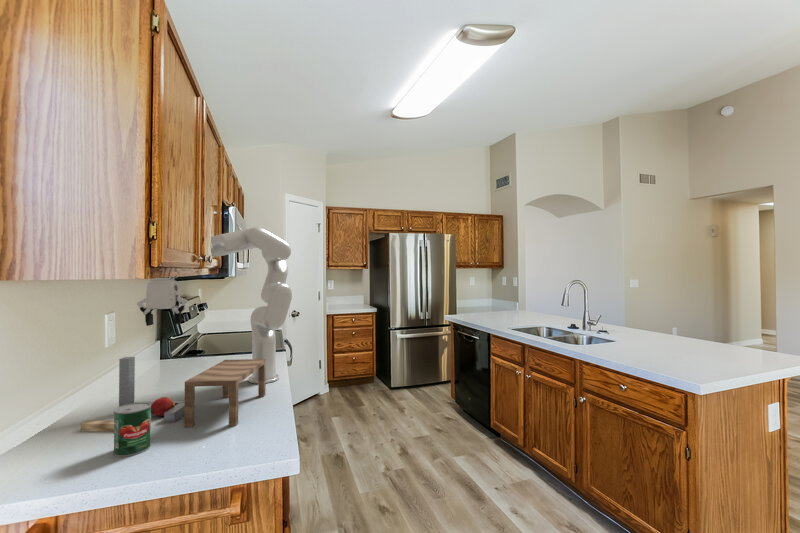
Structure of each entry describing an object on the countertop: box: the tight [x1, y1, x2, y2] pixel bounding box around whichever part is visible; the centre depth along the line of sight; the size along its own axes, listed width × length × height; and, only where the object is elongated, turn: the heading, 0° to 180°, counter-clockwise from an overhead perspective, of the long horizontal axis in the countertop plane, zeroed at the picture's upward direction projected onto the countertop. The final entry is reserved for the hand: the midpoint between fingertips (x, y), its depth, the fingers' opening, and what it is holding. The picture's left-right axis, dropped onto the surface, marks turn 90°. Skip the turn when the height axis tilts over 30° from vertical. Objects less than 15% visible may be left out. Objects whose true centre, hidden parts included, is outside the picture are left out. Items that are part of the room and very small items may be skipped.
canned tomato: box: [113, 401, 152, 458], centre depth 98 cm, size 8×8×11 cm
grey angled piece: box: [118, 356, 185, 424], centre depth 121 cm, size 12×22×18 cm, turn 93°
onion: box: [151, 396, 175, 417], centre depth 121 cm, size 6×6×8 cm
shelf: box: [183, 358, 267, 428], centre depth 127 cm, size 29×15×14 cm, turn 3°
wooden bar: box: [80, 420, 114, 432], centre depth 111 cm, size 14×2×2 cm, turn 90°
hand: (163, 324), depth 136 cm, fingers open, 9 cm apart
